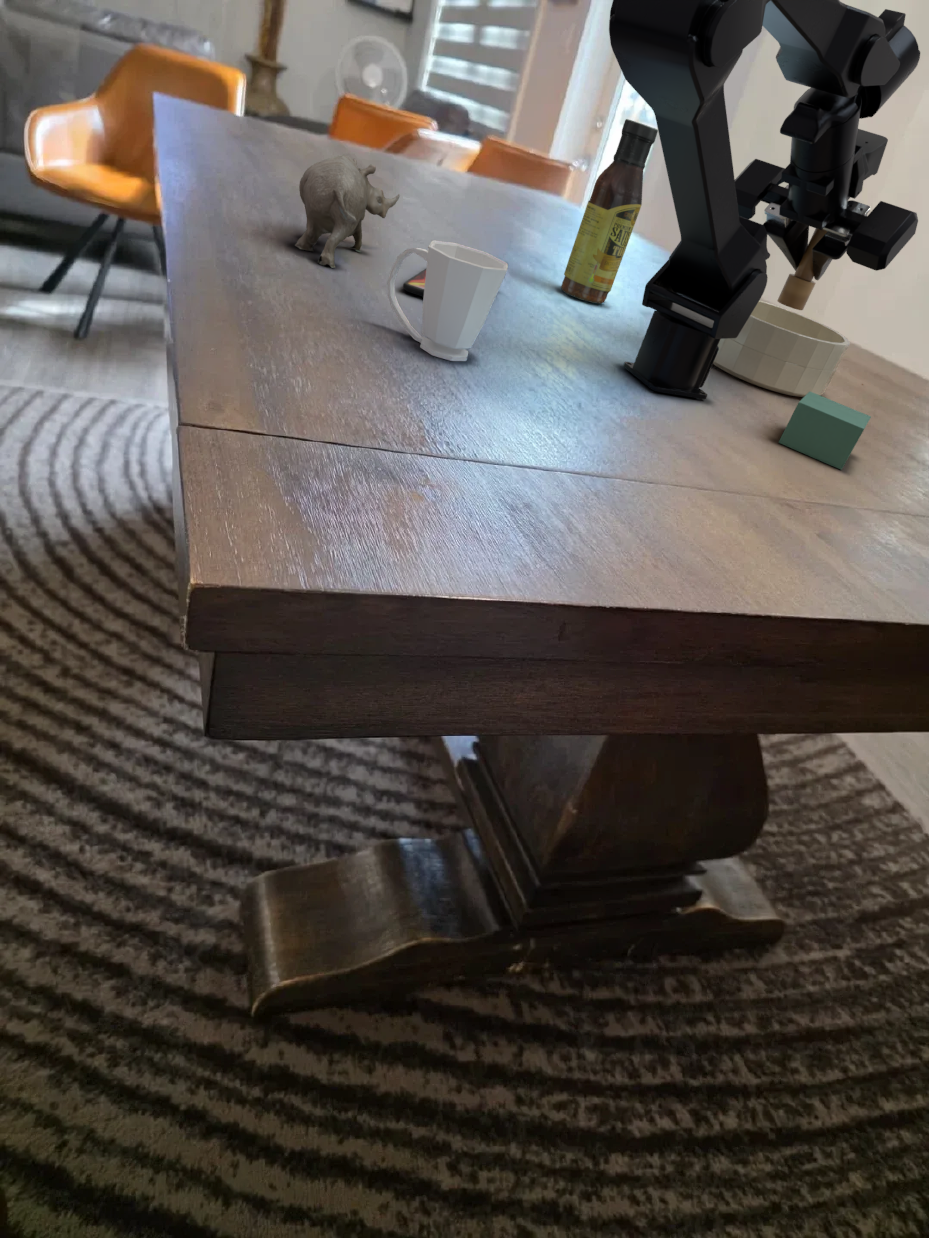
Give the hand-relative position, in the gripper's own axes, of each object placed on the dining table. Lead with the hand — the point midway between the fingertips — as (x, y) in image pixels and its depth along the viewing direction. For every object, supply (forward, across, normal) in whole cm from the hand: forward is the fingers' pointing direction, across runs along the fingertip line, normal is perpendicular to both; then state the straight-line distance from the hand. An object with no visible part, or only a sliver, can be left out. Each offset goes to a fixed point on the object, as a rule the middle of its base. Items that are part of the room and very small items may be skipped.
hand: (809, 273), depth 95 cm
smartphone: (-12, +25, +29) cm, 40 cm away
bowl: (+7, 0, +9) cm, 12 cm away
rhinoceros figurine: (-16, +37, +33) cm, 53 cm away
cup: (-24, +11, +41) cm, 49 cm away
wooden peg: (+2, 0, +4) cm, 4 cm away
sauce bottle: (+5, +24, +12) cm, 27 cm away
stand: (-6, -15, +22) cm, 28 cm away
